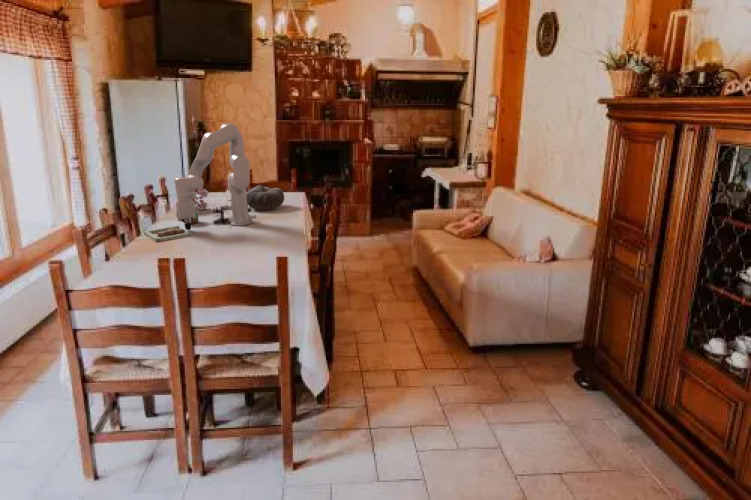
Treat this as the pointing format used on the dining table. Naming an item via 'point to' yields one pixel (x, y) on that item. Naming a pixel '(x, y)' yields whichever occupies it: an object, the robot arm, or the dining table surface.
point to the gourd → (265, 198)
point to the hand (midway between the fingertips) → (188, 229)
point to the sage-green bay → (166, 236)
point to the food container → (196, 216)
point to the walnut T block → (170, 232)
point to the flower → (202, 193)
